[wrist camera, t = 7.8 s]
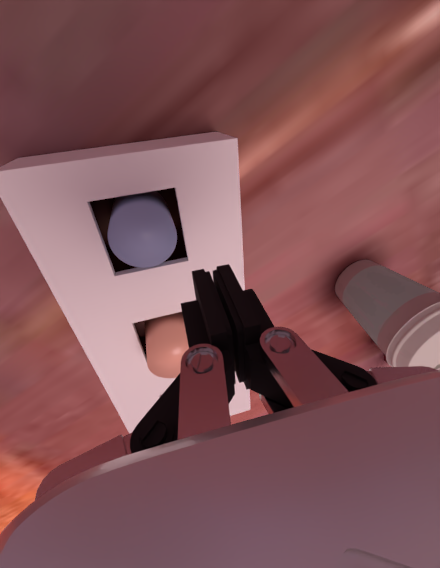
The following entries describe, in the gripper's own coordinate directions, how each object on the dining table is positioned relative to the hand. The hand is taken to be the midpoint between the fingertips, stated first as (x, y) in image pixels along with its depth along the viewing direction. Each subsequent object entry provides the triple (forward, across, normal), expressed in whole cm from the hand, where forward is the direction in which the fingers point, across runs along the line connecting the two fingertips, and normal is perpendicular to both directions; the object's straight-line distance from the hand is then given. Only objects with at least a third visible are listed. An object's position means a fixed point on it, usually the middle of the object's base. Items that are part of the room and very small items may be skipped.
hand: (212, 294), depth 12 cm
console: (+13, +3, +10) cm, 17 cm away
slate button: (+13, +3, 0) cm, 13 cm away
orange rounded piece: (+10, +3, +10) cm, 15 cm away
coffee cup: (+14, -20, +13) cm, 27 cm away
